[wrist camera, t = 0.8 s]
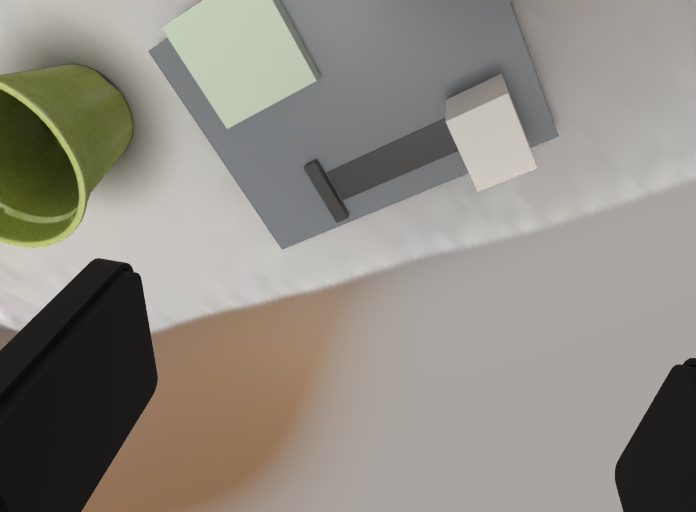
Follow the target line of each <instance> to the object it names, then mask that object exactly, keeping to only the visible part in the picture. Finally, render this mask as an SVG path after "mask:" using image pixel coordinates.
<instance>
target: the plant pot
mask: <svg viewBox="0 0 696 512" xmlns="http://www.w3.org/2000/svg"><path fill="white" fill-rule="evenodd" d="M132 131H133V122H132V116H131V113H130V110H129V107H128V105H127V103H126V101H125V99H124V97H123V96H122V94H121V93H120V91H119V90H118V89H117V88H115V87H114V86H113V85H111V84H110V83H109V82H108V81H106V80H105V79H104V78H103V77H102V76H101V75H100V74H99V73H98V72H96V71H95V70H93V69H90V68H88V67H85V66H81V65H75V64H67V65H60V66H54V67H48V68H42V69H36V70H30V71H24V72H17V73H11V74H4V75H0V242H3V243H6V244H9V245H14V246H21V247H43V246H48V245H52V244H55V243H58V242H60V241H62V240H64V239H65V238H66V237H68V236H69V235H70V234H71V233H72V232H73V231H74V230H75V229H76V228H77V227H78V225H79V224H80V222H81V221H82V219H83V216H84V214H85V211H86V206H87V201H88V198H89V196H90V193H91V192H92V190H93V189H94V188H95V186H96V185H97V184H98V183H99V181H100V180H101V179H102V177H103V176H104V175H105V174H106V172H107V171H108V170H109V169H110V167H111V166H112V165H113V164H114V163H115V161H116V160H117V159H118V158H119V157H120V155H121V154H122V153H123V152H124V151H125V149H126V148H127V146H128V144H129V142H130V140H131V136H132Z"/></svg>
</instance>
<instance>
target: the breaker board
mask: <svg viewBox="0 0 696 512" xmlns="http://www.w3.org/2000/svg"><path fill="white" fill-rule="evenodd" d="M279 1H280V2H281V4H282V6H283V8H284V10H285V12H286V13H287V15H288V17H289V19H290V21H291V23H292V24H293V26H294V28H295V30H296V32H297V34H298V35H299V37H300V39H301V41H302V43H303V45H304V47H305V48H306V50H307V52H308V54H309V56H310V58H311V59H312V61H313V63H314V65H315V67H316V69H317V70H318V72H319V74H320V77H319V79H318V80H317V81H316V82H314V83H312V84H310V85H308V86H306V87H305V88H303V89H301V90H299V91H297V92H295V93H293V94H292V95H290V96H288V97H286V98H284V99H282V100H280V101H279V102H277V103H275V104H273V105H271V106H269V107H267V108H265V109H264V110H262V111H260V112H258V113H256V114H254V115H252V116H251V117H249V118H247V119H245V120H243V121H241V122H239V123H238V124H236V125H234V126H232V127H230V128H228V129H227V128H226V127H225V125H224V124H223V122H222V121H221V119H220V118H219V116H218V114H217V113H216V111H215V110H214V108H213V107H212V105H211V104H210V102H209V101H208V99H207V98H206V96H205V95H204V93H203V91H202V90H201V88H200V87H199V85H198V84H197V82H196V81H195V79H194V78H193V76H192V75H191V73H190V71H189V70H188V68H187V67H186V65H185V64H184V62H183V61H182V59H181V58H180V56H179V55H178V53H177V52H176V50H175V48H174V47H173V45H172V44H171V42H170V41H169V39H166V40H165V41H163V42H161V43H160V44H158V45H157V46H155V47H154V48H152V49H151V50H149V51H148V52H149V53H150V54H151V56H152V57H153V59H154V60H155V62H156V63H157V65H158V66H159V68H160V69H161V71H162V72H163V74H164V75H165V77H166V78H167V80H168V81H169V83H170V84H171V86H172V87H173V89H174V90H175V92H176V93H177V95H178V96H179V97H180V99H181V100H182V102H183V103H184V105H185V106H186V108H187V109H188V111H189V112H190V114H191V115H192V117H193V118H194V120H195V121H196V123H197V124H198V126H199V127H200V129H201V130H202V132H203V133H204V135H205V136H206V138H207V139H208V141H209V142H210V143H211V145H212V146H213V148H214V149H215V151H216V152H217V154H218V155H219V157H220V158H221V160H222V161H223V163H224V164H225V166H226V167H227V169H228V170H229V172H230V173H231V175H232V176H233V178H234V179H235V181H236V182H237V184H238V185H239V187H240V188H241V189H242V191H243V192H244V194H245V195H246V197H247V198H248V200H249V201H250V203H251V204H252V206H253V207H254V209H255V210H256V212H257V213H258V215H259V216H260V218H261V219H262V221H263V222H264V224H265V225H266V227H267V228H268V230H269V231H270V233H271V234H272V235H273V237H274V238H275V240H276V241H277V243H278V244H279V246H280V247H281V249H285V248H287V247H289V246H292V245H294V244H297V243H299V242H302V241H304V240H306V239H309V238H311V237H314V236H316V235H319V234H321V233H324V232H326V231H328V230H331V229H333V228H336V227H338V226H341V225H343V224H345V223H348V222H350V221H353V220H355V219H358V218H360V217H363V216H365V215H367V214H370V213H372V212H375V211H377V210H380V209H382V208H384V207H387V206H389V205H392V204H394V203H397V202H399V201H402V200H404V199H406V198H409V197H411V196H414V195H416V194H419V193H421V192H423V191H426V190H428V189H431V188H433V187H436V186H438V185H441V184H443V183H445V182H448V181H450V180H453V179H455V178H458V177H460V176H462V175H465V174H467V173H469V172H468V170H467V168H466V166H465V163H464V161H463V159H462V157H461V155H460V152H459V150H458V148H457V146H456V144H455V141H454V139H453V137H452V135H451V133H450V130H449V128H448V126H447V124H446V122H445V121H446V99H449V98H451V97H453V96H455V95H457V94H459V93H461V92H463V91H466V90H468V89H470V88H472V87H474V86H476V85H478V84H480V83H482V82H485V81H487V80H489V79H491V78H493V77H495V76H497V75H499V74H502V76H503V78H504V81H505V84H506V86H507V89H508V91H509V94H510V96H511V99H512V101H513V104H514V107H515V109H516V112H517V114H518V117H519V119H520V122H521V124H522V127H523V129H524V132H525V135H526V137H527V140H528V142H529V145H530V148H531V147H533V146H536V145H538V144H541V143H543V142H545V141H548V140H550V139H553V138H555V137H558V133H557V130H556V127H555V125H554V122H553V119H552V116H551V114H550V111H549V108H548V105H547V103H546V100H545V97H544V94H543V92H542V89H541V86H540V83H539V81H538V78H537V75H536V72H535V70H534V67H533V64H532V61H531V59H530V56H529V53H528V50H527V48H526V45H525V42H524V39H523V37H522V34H521V31H520V28H519V26H518V23H517V20H516V17H515V14H514V12H513V9H512V6H511V3H510V1H509V0H279Z"/></svg>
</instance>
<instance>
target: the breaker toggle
mask: <svg viewBox="0 0 696 512" xmlns="http://www.w3.org/2000/svg"><path fill="white" fill-rule="evenodd" d="M445 122H446V124H447V126H448V128H449V130H450V133H451V135H452V137H453V139H454V141H455V144H456V146H457V148H458V150H459V152H460V155H461V157H462V159H463V161H464V163H465V166H466V168H467V170H468V172H469V174H470V176H471V179H472V181H473V183H474V185H475V187H476V190H477V192H479V191H482V190H484V189H487V188H489V187H492V186H494V185H497V184H499V183H502V182H504V181H507V180H509V179H512V178H515V177H517V176H520V175H522V174H525V173H527V172H530V171H532V170H535V169H537V166H536V163H535V160H534V157H533V154H532V151H531V148H530V145H529V142H528V140H527V137H526V135H525V132H524V129H523V127H522V124H521V122H520V119H519V117H518V114H517V112H516V109H515V107H514V104H513V101H512V99H511V96H510V94H509V91H508V89H507V86H506V84H505V81H504V78H503V76H502V74H499V75H497V76H495V77H493V78H491V79H489V80H487V81H485V82H482V83H480V84H478V85H476V86H474V87H472V88H470V89H468V90H466V91H463V92H461V93H459V94H457V95H455V96H453V97H451V98H449V99H446V121H445Z"/></svg>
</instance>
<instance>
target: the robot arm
mask: <svg viewBox="0 0 696 512" xmlns="http://www.w3.org/2000/svg"><path fill="white" fill-rule="evenodd" d="M157 379H158V378H157V370H156V364H155V358H154V352H153V346H152V340H151V334H150V328H149V322H148V316H147V310H146V304H145V299H144V293H143V287H142V281H141V277H140V275H139V274H138V273H135V272H133V268H132V267H131V265H130V264H128V263H123V262H118V261H112V260H106V259H100V258H98V259H94V260H93V261H91V262H90V263H89V264H88V265H87V266H86V267H85V268H84V269H83V270H82V271H81V272H80V273H79V274H78V275H77V276H76V277H75V278H74V279H73V280H72V281H71V282H70V283H69V284H68V285H67V286H66V287H65V288H64V289H63V290H62V291H61V292H60V293H59V294H57V295H56V296H55V297H54V298H53V299H52V300H51V301H50V302H49V303H48V304H47V305H46V306H45V307H44V308H43V309H42V310H41V311H40V312H39V313H38V314H37V315H36V316H35V317H34V318H33V319H32V320H31V321H30V322H29V323H28V324H27V325H26V326H25V327H24V328H23V329H22V330H21V331H20V332H19V333H18V334H17V335H16V336H15V337H14V338H13V339H12V340H11V341H10V342H9V343H8V344H7V345H6V346H5V347H4V348H2V350H1V351H0V512H81V511H82V509H83V508H84V506H85V505H86V503H87V501H88V500H89V498H90V496H91V495H92V493H93V492H94V490H95V488H96V487H97V485H98V483H99V482H100V480H101V478H102V477H103V475H104V474H105V472H106V470H107V468H108V467H109V466H110V464H111V462H112V461H113V459H114V457H115V456H116V454H117V453H118V451H119V449H120V448H121V446H122V445H123V443H124V441H125V440H126V438H127V436H128V435H129V433H130V431H131V430H132V428H133V427H134V425H135V423H136V422H137V420H138V419H139V417H140V415H141V414H142V412H143V410H144V409H145V407H146V405H147V404H148V402H149V401H150V399H151V397H152V396H153V394H154V392H155V389H156V385H157ZM615 482H616V486H617V490H618V493H619V497H620V501H621V504H622V508H623V511H624V512H696V358H690V359H688V360H687V361H685V362H684V364H683V365H675V366H674V367H673V368H672V369H671V371H670V373H669V374H668V376H667V378H666V379H665V381H664V383H663V384H662V386H661V388H660V390H659V391H658V393H657V395H656V396H655V398H654V400H653V402H652V403H651V405H650V407H649V409H648V410H647V412H646V414H645V415H644V417H643V419H642V421H641V422H640V424H639V426H638V428H637V429H636V431H635V433H634V434H633V436H632V438H631V440H630V441H629V443H628V445H627V446H626V448H625V450H624V451H623V453H622V455H621V457H620V459H619V460H618V462H617V465H616V469H615Z"/></svg>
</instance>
